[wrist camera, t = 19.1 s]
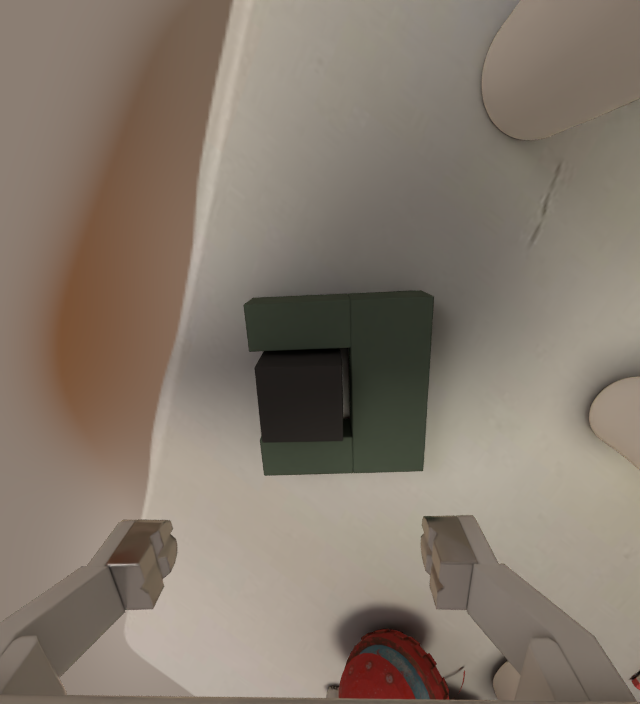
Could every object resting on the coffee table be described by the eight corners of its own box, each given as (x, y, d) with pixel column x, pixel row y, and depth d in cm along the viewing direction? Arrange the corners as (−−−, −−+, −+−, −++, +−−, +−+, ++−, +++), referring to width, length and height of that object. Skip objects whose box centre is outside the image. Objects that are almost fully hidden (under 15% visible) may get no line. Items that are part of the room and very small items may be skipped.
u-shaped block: (252, 297, 21) (243, 304, 19) (422, 290, 21) (434, 296, 19) (269, 454, 25) (263, 476, 23) (414, 449, 25) (423, 471, 23)
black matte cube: (272, 411, 24) (262, 443, 20) (266, 346, 23) (254, 367, 19) (340, 410, 24) (343, 441, 20) (339, 344, 22) (342, 365, 19)
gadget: (403, 713, 34) (313, 807, 24) (388, 603, 39) (307, 640, 28) (498, 739, 30) (439, 872, 19) (470, 609, 34) (409, 657, 23)
